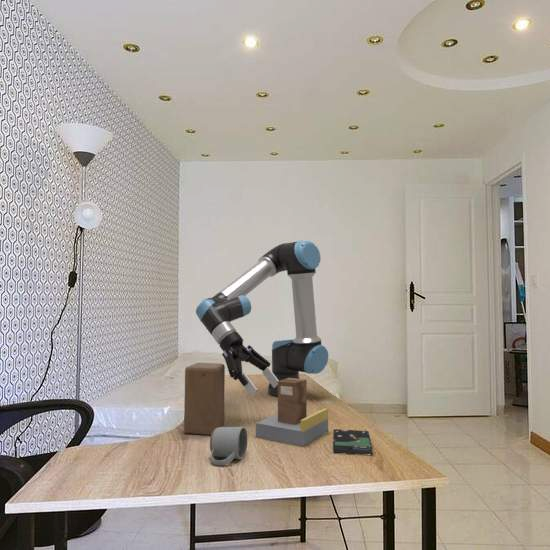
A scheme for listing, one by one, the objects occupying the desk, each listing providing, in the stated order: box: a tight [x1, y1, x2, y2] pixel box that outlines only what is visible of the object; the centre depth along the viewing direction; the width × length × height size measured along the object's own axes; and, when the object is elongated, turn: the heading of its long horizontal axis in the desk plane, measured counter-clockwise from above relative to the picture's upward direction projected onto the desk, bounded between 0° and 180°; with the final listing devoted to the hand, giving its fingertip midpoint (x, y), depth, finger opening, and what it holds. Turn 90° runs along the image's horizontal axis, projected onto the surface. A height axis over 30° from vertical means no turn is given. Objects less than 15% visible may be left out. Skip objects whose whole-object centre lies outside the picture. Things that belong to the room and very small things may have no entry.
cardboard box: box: [277, 378, 308, 425], centre depth 131 cm, size 7×6×12 cm
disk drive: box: [332, 428, 373, 455], centre depth 121 cm, size 10×3×15 cm
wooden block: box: [183, 362, 226, 436], centre depth 135 cm, size 10×10×20 cm
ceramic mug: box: [209, 426, 248, 467], centre depth 110 cm, size 11×8×8 cm
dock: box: [255, 407, 329, 447], centre depth 131 cm, size 16×16×7 cm
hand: (266, 388), depth 137 cm, fingers open, 13 cm apart
